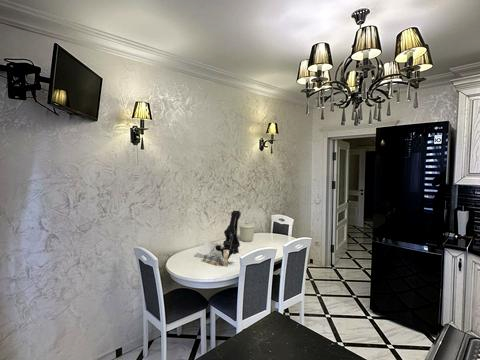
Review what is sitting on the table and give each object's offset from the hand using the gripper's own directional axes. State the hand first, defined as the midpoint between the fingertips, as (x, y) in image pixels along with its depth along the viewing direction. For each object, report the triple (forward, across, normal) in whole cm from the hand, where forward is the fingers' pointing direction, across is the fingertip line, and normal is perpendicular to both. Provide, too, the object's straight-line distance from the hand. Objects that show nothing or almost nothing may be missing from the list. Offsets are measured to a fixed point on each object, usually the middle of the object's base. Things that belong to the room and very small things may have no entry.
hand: (225, 258), depth 213 cm
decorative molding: (-17, -27, +28) cm, 42 cm away
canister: (-50, +5, +59) cm, 77 cm away
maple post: (+4, 0, +6) cm, 7 cm away
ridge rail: (+1, -13, +9) cm, 16 cm away
